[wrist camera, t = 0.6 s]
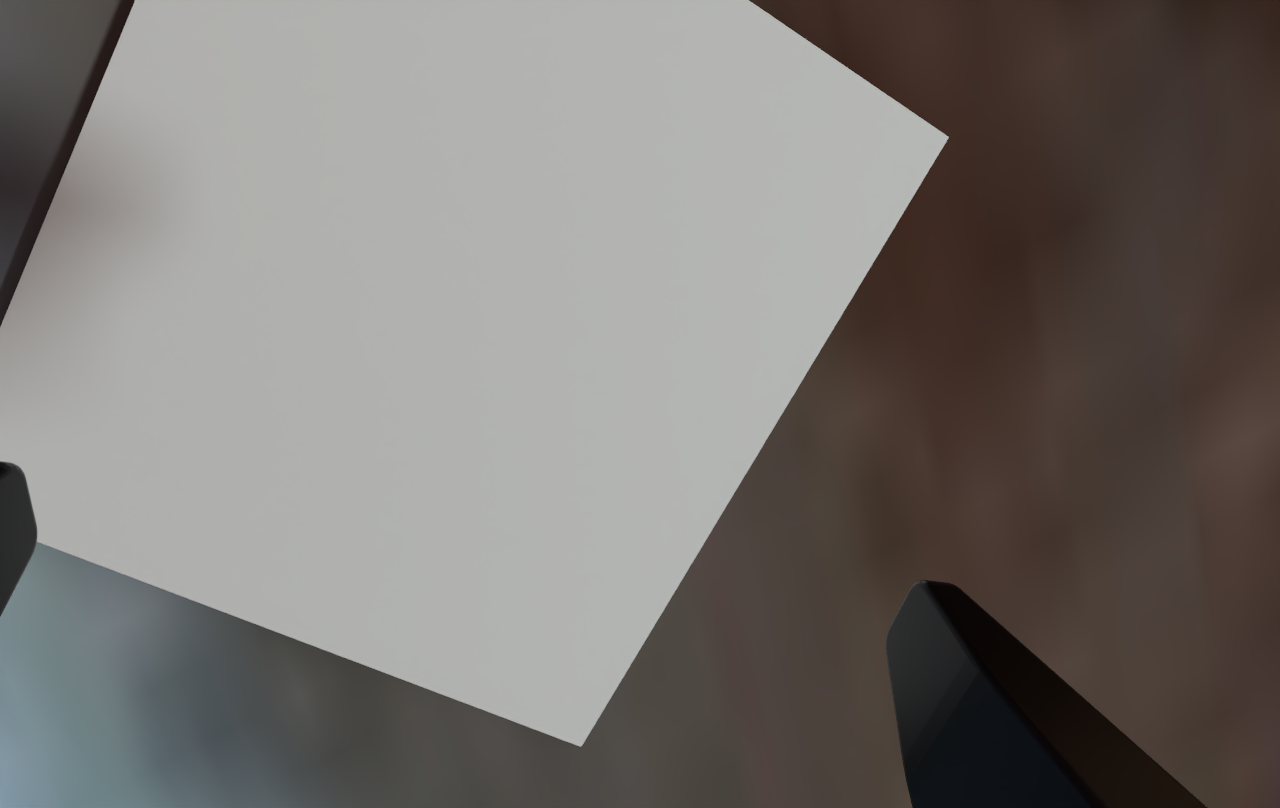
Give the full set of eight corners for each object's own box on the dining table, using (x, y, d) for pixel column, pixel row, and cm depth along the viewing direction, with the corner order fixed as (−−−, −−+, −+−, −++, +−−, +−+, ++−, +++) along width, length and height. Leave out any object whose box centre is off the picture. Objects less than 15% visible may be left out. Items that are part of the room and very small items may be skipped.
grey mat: (579, 738, 25) (581, 746, 25) (-61, 494, 21) (-72, 500, 20) (941, 137, 22) (948, 136, 22) (275, -316, 17) (270, -327, 17)
